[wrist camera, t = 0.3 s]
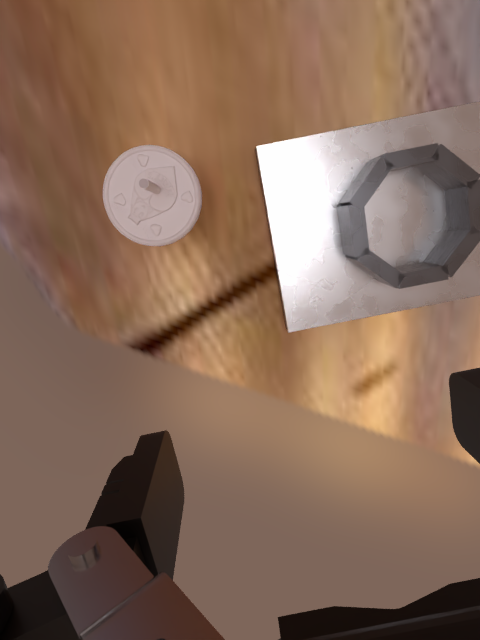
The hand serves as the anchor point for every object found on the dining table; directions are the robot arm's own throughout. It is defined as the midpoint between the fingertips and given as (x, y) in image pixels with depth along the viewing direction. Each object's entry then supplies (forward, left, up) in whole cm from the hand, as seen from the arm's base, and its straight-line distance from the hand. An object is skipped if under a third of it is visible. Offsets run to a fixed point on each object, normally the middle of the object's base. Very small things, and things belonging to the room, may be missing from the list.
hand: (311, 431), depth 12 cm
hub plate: (-4, +13, -27) cm, 30 cm away
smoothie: (-9, -6, -27) cm, 29 cm away
